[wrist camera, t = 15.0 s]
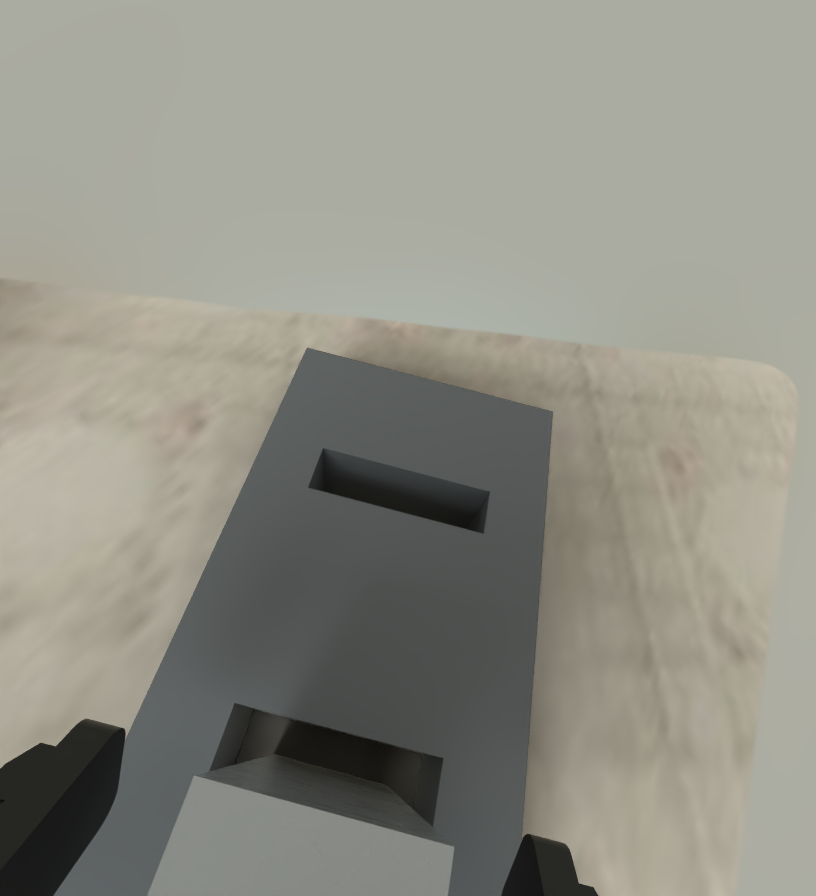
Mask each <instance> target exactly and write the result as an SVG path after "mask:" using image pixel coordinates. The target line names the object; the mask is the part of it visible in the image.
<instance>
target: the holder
mask: <svg viewBox="0 0 816 896" xmlns="http://www.w3.org/2000/svg"><path fill="white" fill-rule="evenodd" d="M552 417H553V412H552V411H548V410H544V409H540V408H536V407H533V406H529V405H525V404H521V403H517V402H513V401H510V400H506V399H502V398H498V397H494V396H490V395H487V394H483V393H479V392H475V391H471V390H467V389H464V388H460V387H456V386H452V385H448V384H444V383H441V382H437V381H433V380H429V379H425V378H421V377H418V376H414V375H410V374H406V373H402V372H398V371H395V370H391V369H387V368H383V367H379V366H375V365H372V364H368V363H364V362H360V361H356V360H352V359H349V358H345V357H341V356H337V355H333V354H329V353H326V352H322V351H318V350H314V349H310V348H307V349H306V351H305V353H304V355H303V358H302V360H301V362H300V364H299V366H298V368H297V371H296V373H295V375H294V377H293V379H292V381H291V383H290V386H289V388H288V390H287V392H286V394H285V396H284V399H283V401H282V403H281V405H280V407H279V409H278V412H277V414H276V416H275V418H274V420H273V422H272V425H271V427H270V429H269V431H268V433H267V435H266V437H265V440H264V442H263V444H262V446H261V448H260V450H259V453H258V455H257V457H256V459H255V461H254V463H253V466H252V468H251V470H250V472H249V474H248V476H247V479H246V481H245V483H244V485H243V487H242V489H241V491H240V494H239V496H238V498H237V500H236V502H235V504H234V507H233V509H232V511H231V513H230V515H229V517H228V520H227V522H226V524H225V526H224V528H223V530H222V533H221V535H220V537H219V539H218V541H217V543H216V545H215V548H214V550H213V552H212V554H211V556H210V558H209V561H208V563H207V565H206V567H205V569H204V571H203V574H202V576H201V578H200V580H199V582H198V584H197V587H196V589H195V591H194V593H193V595H192V597H191V599H190V602H189V604H188V606H187V608H186V610H185V612H184V615H183V617H182V619H181V621H180V623H179V625H178V628H177V630H176V632H175V634H174V636H173V638H172V641H171V643H170V645H169V647H168V649H167V651H166V653H165V656H164V658H163V660H162V662H161V664H160V666H159V669H158V671H157V673H156V675H155V677H154V679H153V682H152V684H151V686H150V688H149V690H148V692H147V695H146V697H145V699H144V701H143V703H142V705H141V707H140V710H139V712H138V714H137V716H136V718H135V720H134V723H133V725H132V727H131V729H130V731H129V733H128V736H127V738H126V740H125V743H124V750H123V757H122V764H121V771H120V779H119V786H118V791H117V794H116V797H115V800H114V803H113V805H112V807H111V810H110V812H109V814H108V816H107V817H106V819H105V821H104V823H103V824H102V826H101V828H100V829H99V831H98V832H97V833H96V835H95V836H94V838H93V839H92V841H91V842H90V844H89V845H88V846H87V848H86V849H85V851H84V852H83V854H82V855H81V857H80V858H79V859H78V861H77V862H76V864H75V865H74V867H73V868H72V870H71V871H70V872H69V874H68V875H67V877H66V878H65V880H64V881H63V882H62V884H61V885H60V887H59V888H58V890H57V891H56V893H55V894H54V895H53V896H147V895H148V892H149V890H150V887H151V885H152V882H153V880H154V877H155V874H156V872H157V869H158V867H159V864H160V862H161V859H162V856H163V854H164V851H165V849H166V846H167V844H168V841H169V838H170V836H171V833H172V831H173V828H174V826H175V823H176V820H177V818H178V815H179V813H180V810H181V808H182V805H183V803H184V800H185V797H186V795H187V792H188V790H189V787H190V785H191V782H192V779H193V777H194V775H198V774H201V773H205V772H209V771H213V770H216V769H220V768H224V767H227V766H231V765H235V762H236V759H237V756H238V753H239V751H240V748H241V745H242V742H243V739H244V736H245V733H246V731H247V728H248V725H249V722H250V719H251V716H252V713H253V710H257V711H261V712H265V713H269V714H272V715H276V716H280V717H284V718H288V719H291V720H295V721H299V722H303V723H306V724H310V725H314V726H318V727H322V728H325V729H329V730H333V731H337V732H340V733H344V734H348V735H352V736H356V737H359V738H363V739H367V740H371V741H374V742H378V743H382V744H386V745H390V746H393V747H397V748H401V749H405V750H408V751H412V752H416V753H420V754H422V760H421V765H420V771H419V777H418V783H417V788H416V794H415V800H414V806H413V810H414V811H415V812H416V813H418V814H419V815H420V816H421V817H422V818H423V819H424V820H425V821H426V822H428V823H429V824H430V825H431V826H432V827H433V828H434V829H435V830H436V831H437V832H439V833H440V834H441V835H442V836H443V837H444V838H445V839H446V840H447V841H449V842H450V843H451V844H452V845H453V846H454V854H453V861H452V869H451V876H450V883H449V891H448V896H501V895H502V891H503V887H504V885H505V882H506V880H507V877H508V875H509V872H510V870H511V867H512V865H513V862H514V860H515V857H516V854H517V852H518V849H519V847H520V844H521V839H522V825H523V812H524V798H525V784H526V771H527V757H528V744H529V730H530V716H531V703H532V689H533V675H534V662H535V648H536V635H537V621H538V607H539V594H540V580H541V566H542V553H543V539H544V526H545V512H546V498H547V485H548V471H549V457H550V444H551V430H552ZM326 492H328V493H326ZM330 493H332V494H330ZM334 494H335V495H334ZM338 495H339V496H338ZM342 496H343V497H342ZM345 497H347V498H345ZM349 498H351V499H349ZM353 499H354V500H353ZM357 500H358V501H357ZM361 501H362V502H361ZM364 502H366V503H364ZM368 503H370V504H368ZM372 504H373V505H372ZM376 505H377V506H376ZM380 506H381V507H380ZM384 507H385V508H384ZM387 508H389V509H387ZM391 509H393V510H391ZM395 510H396V511H395ZM399 511H400V512H399ZM403 512H404V513H403ZM406 513H408V514H406ZM410 514H412V515H410ZM414 515H415V516H414ZM418 516H419V517H418ZM422 517H423V518H422ZM425 518H427V519H425ZM429 519H431V520H429ZM433 520H434V521H433ZM437 521H438V522H437ZM441 522H442V523H441ZM445 523H446V524H445ZM448 524H450V525H448ZM452 525H454V526H452ZM456 526H457V527H456ZM460 527H461V528H460ZM464 528H465V529H464Z"/></svg>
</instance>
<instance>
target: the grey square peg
mask: <svg viewBox="0 0 816 896" xmlns="http://www.w3.org/2000/svg"><path fill="white" fill-rule="evenodd" d="M453 854H454V846H453V845H452V844H451V843H450V842H449V841H447V840H446V839H445V838H444V837H443V836H442V835H441V834H440V833H439V832H437V831H436V830H435V829H434V828H433V827H432V826H431V825H430V824H429V823H428V822H426V821H425V820H424V819H423V818H422V817H421V816H420V815H419V814H418V813H416V812H415V811H414V810H413V809H412V808H411V807H410V806H409V805H408V804H406V803H405V802H404V801H403V800H402V799H401V798H400V797H399V796H398V795H396V794H395V793H394V792H393V791H392V790H391V789H390V788H389V787H388V786H387V785H385V784H381V783H378V782H374V781H370V780H367V779H363V778H359V777H356V776H352V775H348V774H345V773H341V772H337V771H334V770H330V769H326V768H323V767H319V766H315V765H312V764H308V763H304V762H301V761H297V760H293V759H290V758H286V757H283V756H279V755H275V754H272V755H268V756H265V757H261V758H257V759H254V760H250V761H246V762H242V763H239V764H235V765H231V766H227V767H224V768H220V769H216V770H213V771H209V772H205V773H201V774H198V775H194V777H193V779H192V782H191V785H190V787H189V790H188V792H187V795H186V797H185V800H184V803H183V805H182V808H181V810H180V813H179V815H178V818H177V820H176V823H175V826H174V828H173V831H172V833H171V836H170V838H169V841H168V844H167V846H166V849H165V851H164V854H163V856H162V859H161V862H160V864H159V867H158V869H157V872H156V874H155V877H154V880H153V882H152V885H151V887H150V890H149V892H148V895H147V896H448V891H449V883H450V876H451V869H452V861H453Z"/></svg>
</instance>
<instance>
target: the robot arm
mask: <svg viewBox="0 0 816 896" xmlns="http://www.w3.org/2000/svg"><path fill="white" fill-rule="evenodd" d="M125 734H126V733H125V729H124V728H120V727H117V726H113V725H109V724H105V723H101V722H98V721H94V720H90V719H84V720H82V721H81V722H79V723H78V724H77V725H76V726H75V727H74V728H73V729H72V730H71V731H70V732H69V733H68V734H67V735H66V736H65V737H64V738H63V740H62V741H61V742H60V743H59V744H58V745H57V746H56V747H55V746H52V745H48V744H44V743H40V744H38V745H36V746H35V747H33V748H31V749H30V750H28V751H26V752H25V753H23V754H21V755H20V756H18V757H16V758H15V759H13V760H11V761H10V762H8V763H6V764H5V765H4V766H3V767H2V768H1V769H0V896H53V895H54V894H55V893H56V891H57V890H58V888H59V887H60V885H61V884H62V882H63V881H64V880H65V878H66V877H67V875H68V874H69V872H70V871H71V870H72V868H73V867H74V865H75V864H76V862H77V861H78V859H79V858H80V857H81V855H82V854H83V852H84V851H85V849H86V848H87V846H88V845H89V844H90V842H91V841H92V839H93V838H94V836H95V835H96V833H97V832H98V831H99V829H100V828H101V826H102V824H103V823H104V821H105V819H106V817H107V816H108V814H109V812H110V810H111V807H112V805H113V803H114V800H115V797H116V794H117V791H118V786H119V779H120V771H121V764H122V757H123V750H124V743H125ZM501 896H598V894H597V893H596V891H595V889H594V888H593V887H590V886H587V885H583V884H579V883H578V879H577V875H576V871H575V867H574V863H573V860H572V856H571V853H570V850H569V848H568V847H567V845H566V844H564V843H561V842H557V841H553V840H550V839H546V838H542V837H538V836H534V835H531V834H526V835H525V836H524V837H523V839H522V842H521V844H520V847H519V849H518V852H517V854H516V857H515V860H514V862H513V865H512V867H511V870H510V872H509V875H508V877H507V880H506V882H505V885H504V887H503V891H502V895H501Z"/></svg>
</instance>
